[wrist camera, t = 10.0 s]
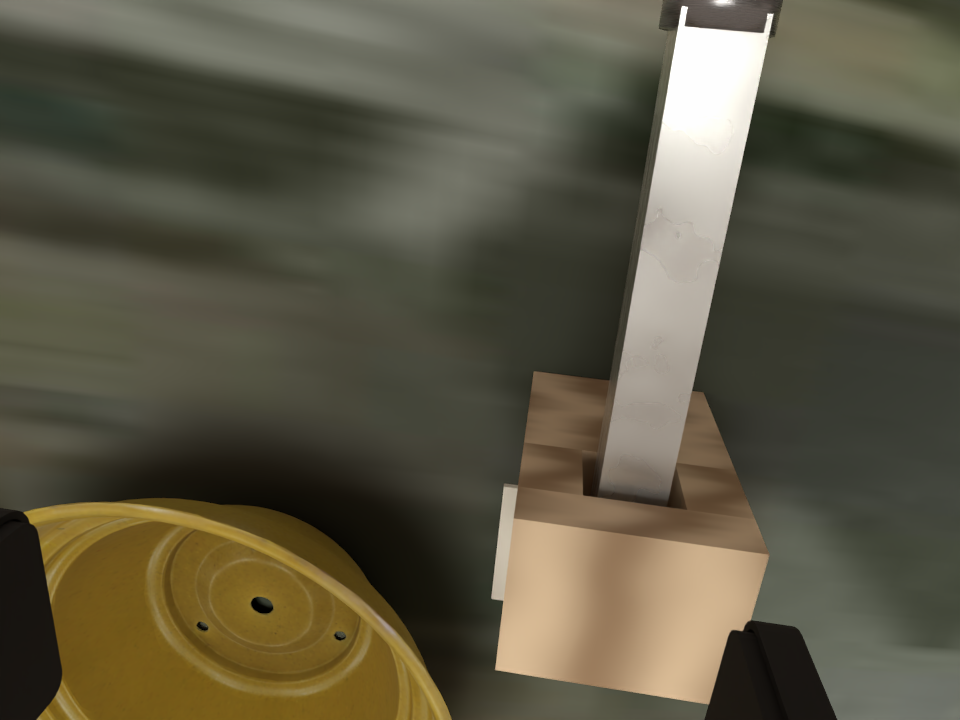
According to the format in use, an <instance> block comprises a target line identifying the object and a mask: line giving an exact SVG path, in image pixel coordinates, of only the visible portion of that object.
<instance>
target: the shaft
mask: <svg viewBox="0 0 960 720" xmlns="http://www.w3.org/2000/svg"><path fill="white" fill-rule="evenodd" d="M782 2H783V0H663V4H662V10H661V16H660V23H659V29H662V30H666V31H668V34H667V40H666V46H665V52H664V58H663V64H662V70H661V76H660V82H659V88H658V94H657V100H656V106H655V112H654V118H653V124H652V129H651V135H650V141H649V147H648V153H647V159H646V165H645V171H644V177H643V183H642V189H641V195H640V201H639V207H638V213H637V219H636V225H635V231H634V237H633V243H632V249H631V255H630V261H629V267H628V273H627V279H626V285H625V291H624V297H623V303H622V309H621V315H620V321H619V327H618V333H617V338H616V344H615V350H614V356H613V362H612V368H611V374H610V380H609V386H608V392H607V398H606V404H605V410H604V416H603V422H602V428H601V434H600V440H599V446H598V452H597V458H596V464H595V470H594V476H593V482H592V488H591V494H590V497H598V498H605V499H612V500H619V501H626V502H634V503H641V504H648V505H655V506H662V507H667V504H668V499H669V494H670V490H671V485H672V480H673V476H674V471H675V467H676V462H677V457H678V453H679V448H680V444H681V439H682V434H683V430H684V425H685V421H686V416H687V411H688V407H689V402H690V397H691V393H692V388H693V384H694V379H695V374H696V370H697V365H698V361H699V356H700V351H701V347H702V342H703V338H704V333H705V328H706V324H707V319H708V314H709V310H710V305H711V301H712V296H713V291H714V287H715V282H716V278H717V273H718V268H719V264H720V259H721V255H722V250H723V245H724V241H725V236H726V231H727V227H728V222H729V218H730V213H731V208H732V204H733V199H734V195H735V190H736V185H737V181H738V176H739V172H740V167H741V162H742V158H743V153H744V148H745V144H746V139H747V135H748V130H749V125H750V121H751V116H752V112H753V107H754V102H755V98H756V93H757V89H758V84H759V79H760V75H761V70H762V65H763V61H764V56H765V52H766V47H767V42H768V38H771V37H775V34H776V29H777V25H778V20H779V16H780V11H781V7H782Z"/></svg>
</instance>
